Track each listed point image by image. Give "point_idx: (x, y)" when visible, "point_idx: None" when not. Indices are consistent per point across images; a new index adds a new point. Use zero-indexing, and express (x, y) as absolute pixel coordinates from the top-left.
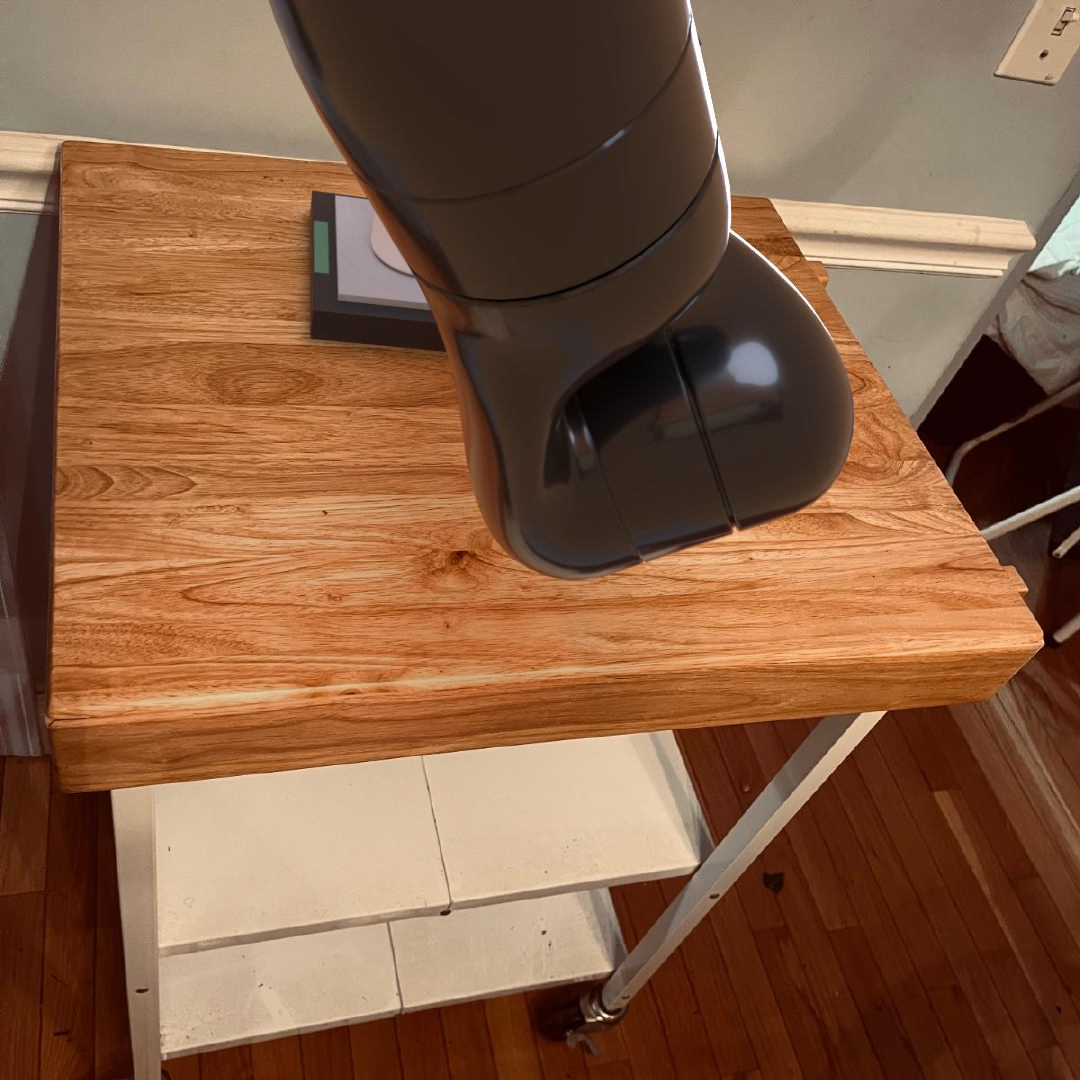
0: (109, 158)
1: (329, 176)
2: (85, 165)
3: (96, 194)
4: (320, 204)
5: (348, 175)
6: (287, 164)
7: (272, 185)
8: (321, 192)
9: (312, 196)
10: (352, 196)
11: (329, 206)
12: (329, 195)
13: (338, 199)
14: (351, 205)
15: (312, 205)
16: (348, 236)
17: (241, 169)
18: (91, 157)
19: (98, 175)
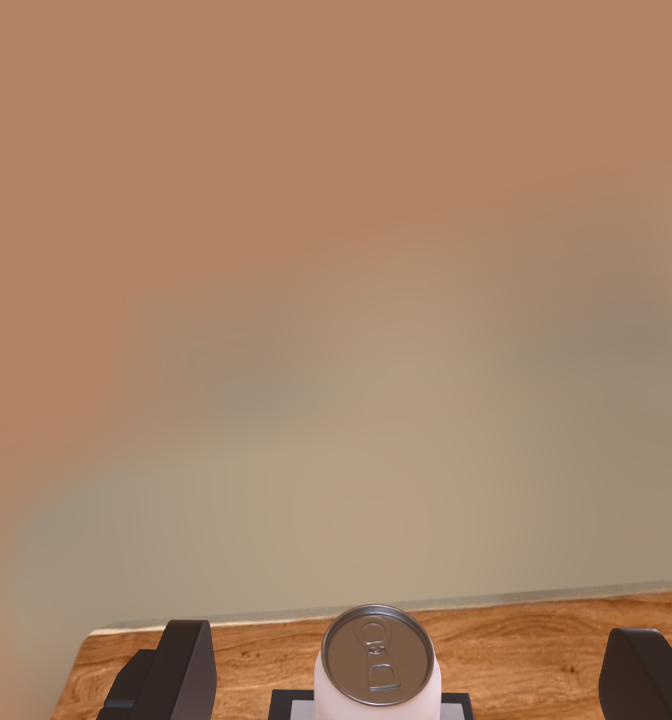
0: (109, 654)
1: (303, 639)
2: (83, 668)
3: (74, 712)
4: (277, 713)
5: (321, 634)
6: (267, 630)
7: (247, 664)
8: (281, 691)
9: (271, 700)
10: (313, 691)
11: (286, 714)
12: (289, 694)
13: (294, 707)
14: (307, 715)
15: (268, 716)
16: None
17: (223, 646)
18: (93, 655)
19: (89, 681)
